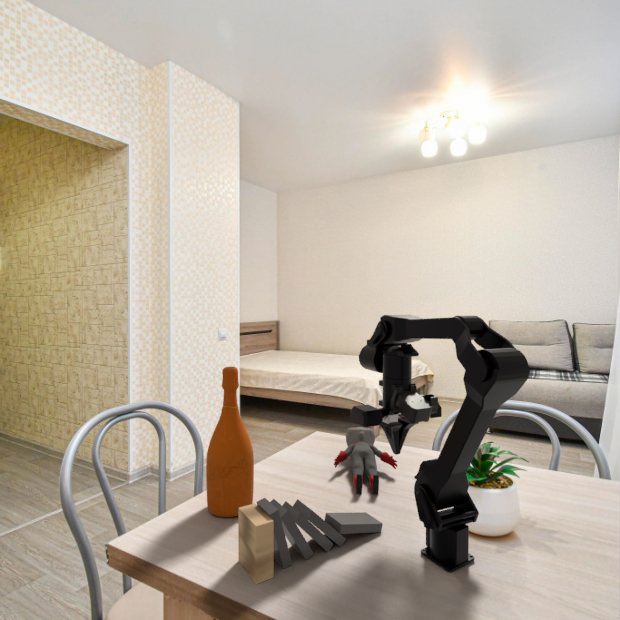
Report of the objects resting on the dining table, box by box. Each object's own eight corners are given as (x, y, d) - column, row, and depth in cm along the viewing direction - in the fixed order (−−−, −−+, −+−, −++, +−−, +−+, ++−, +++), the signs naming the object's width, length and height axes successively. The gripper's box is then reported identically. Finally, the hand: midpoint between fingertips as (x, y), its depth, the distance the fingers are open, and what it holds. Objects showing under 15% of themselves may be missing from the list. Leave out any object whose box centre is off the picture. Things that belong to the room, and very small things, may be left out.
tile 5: (292, 563, 70) (278, 509, 69) (283, 569, 69) (269, 514, 68) (277, 548, 74) (264, 497, 73) (270, 553, 74) (256, 502, 72)
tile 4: (313, 553, 72) (287, 510, 70) (306, 560, 72) (280, 517, 69) (298, 539, 77) (273, 498, 74) (291, 546, 76) (266, 505, 73)
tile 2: (345, 538, 76) (312, 510, 72) (340, 547, 76) (306, 519, 72) (330, 526, 81) (297, 499, 77) (325, 534, 80) (292, 506, 76)
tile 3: (333, 543, 75) (300, 512, 71) (327, 552, 74) (294, 521, 70) (317, 530, 79) (285, 500, 75) (312, 538, 78) (279, 508, 75)
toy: (333, 475, 96) (333, 416, 126) (333, 512, 98) (333, 445, 127) (404, 477, 95) (388, 417, 125) (403, 514, 97) (386, 447, 127)
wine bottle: (263, 506, 91) (263, 366, 90) (227, 525, 83) (226, 372, 82) (233, 493, 97) (232, 362, 96) (196, 509, 89) (196, 367, 89)
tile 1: (382, 523, 81) (341, 524, 76) (381, 532, 81) (339, 533, 76) (365, 512, 85) (325, 512, 80) (364, 520, 85) (324, 521, 80)
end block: (273, 577, 67) (273, 521, 67) (256, 584, 66) (256, 526, 66) (254, 555, 73) (254, 503, 73) (238, 560, 72) (238, 507, 71)
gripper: (380, 388, 74) (379, 476, 75) (461, 380, 82) (461, 460, 82) (348, 377, 85) (348, 455, 85) (423, 371, 92) (423, 443, 93)
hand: (396, 453), depth 86 cm, fingers closed
